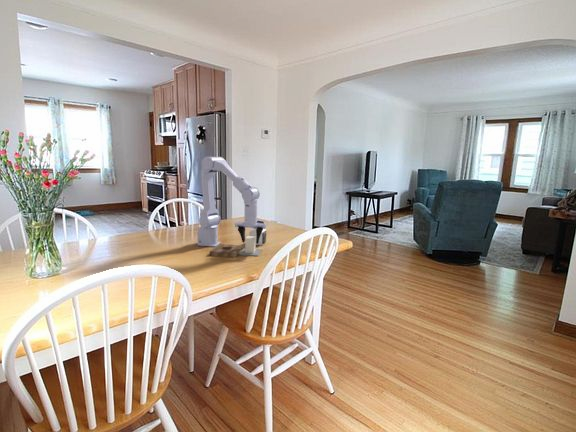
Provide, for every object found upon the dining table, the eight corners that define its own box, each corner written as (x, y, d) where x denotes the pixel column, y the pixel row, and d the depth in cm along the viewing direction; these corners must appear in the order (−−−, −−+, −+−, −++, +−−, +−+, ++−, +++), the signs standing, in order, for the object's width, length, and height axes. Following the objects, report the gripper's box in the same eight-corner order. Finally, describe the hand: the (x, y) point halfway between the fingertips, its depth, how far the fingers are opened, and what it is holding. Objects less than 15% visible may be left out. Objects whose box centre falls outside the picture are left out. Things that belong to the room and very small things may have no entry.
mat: (238, 254, 145) (238, 253, 145) (243, 249, 154) (243, 248, 153) (257, 256, 144) (257, 255, 144) (261, 250, 153) (261, 249, 152)
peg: (245, 252, 147) (245, 238, 145) (247, 250, 151) (247, 235, 149) (253, 253, 146) (253, 238, 145) (255, 250, 150) (255, 236, 149)
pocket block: (209, 255, 143) (209, 251, 142) (218, 247, 155) (218, 243, 154) (235, 257, 141) (235, 252, 141) (242, 249, 153) (242, 245, 153)
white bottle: (262, 245, 160) (262, 222, 158) (249, 244, 162) (249, 221, 159) (266, 242, 167) (266, 220, 165) (253, 241, 168) (253, 219, 166)
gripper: (232, 214, 142) (233, 243, 145) (264, 216, 140) (264, 245, 143) (237, 212, 149) (237, 239, 152) (267, 213, 147) (267, 241, 150)
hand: (250, 242), depth 148 cm, fingers open, 6 cm apart
